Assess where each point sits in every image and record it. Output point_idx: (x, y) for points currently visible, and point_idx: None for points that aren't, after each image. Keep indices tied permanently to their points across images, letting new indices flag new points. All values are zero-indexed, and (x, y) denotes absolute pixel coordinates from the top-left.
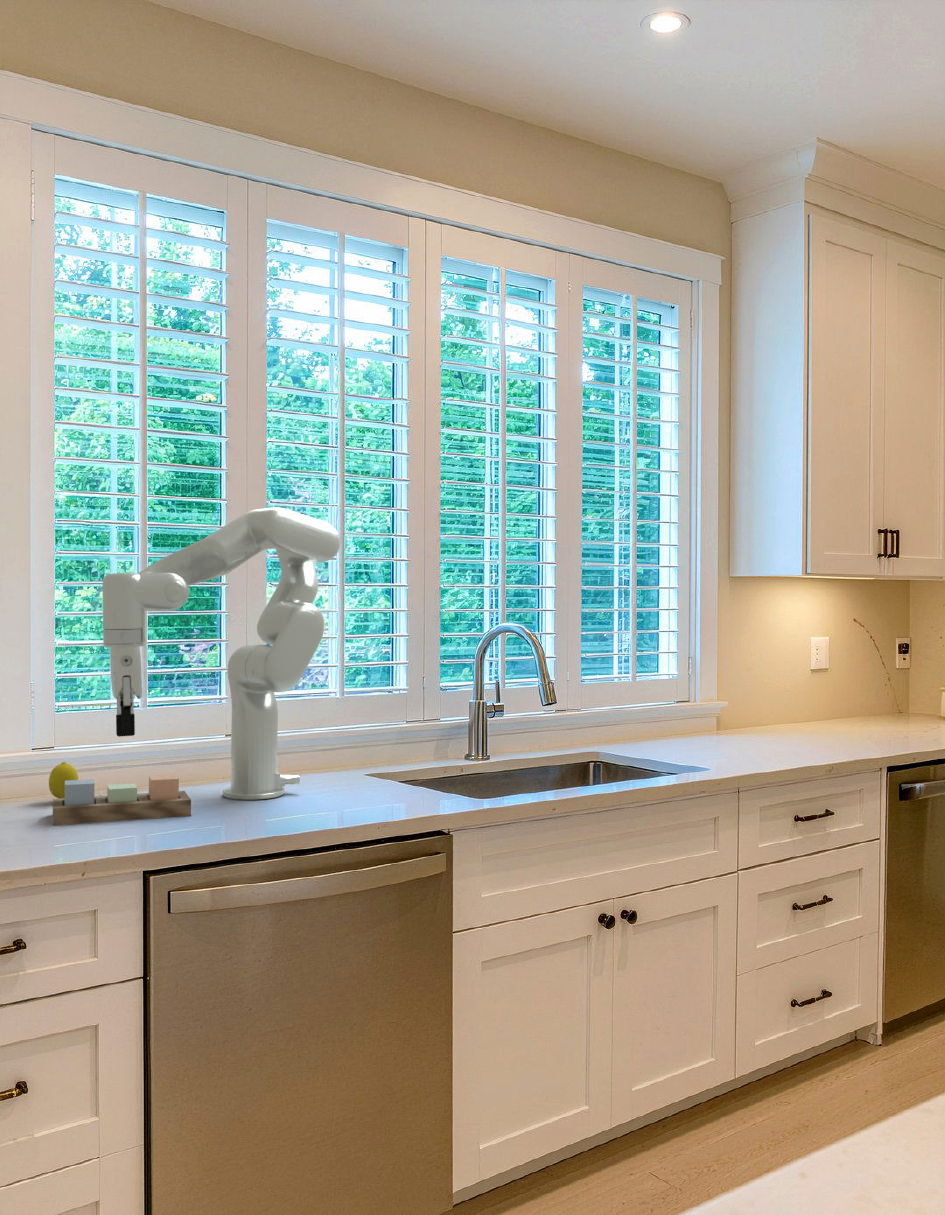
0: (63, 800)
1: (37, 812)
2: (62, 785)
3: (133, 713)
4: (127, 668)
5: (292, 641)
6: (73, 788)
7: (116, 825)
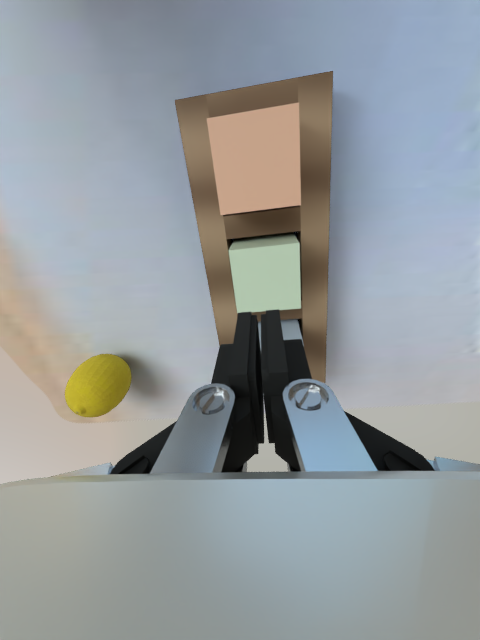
0: None
1: None
2: (127, 382)
3: (327, 386)
4: None
5: None
6: None
7: (362, 268)
